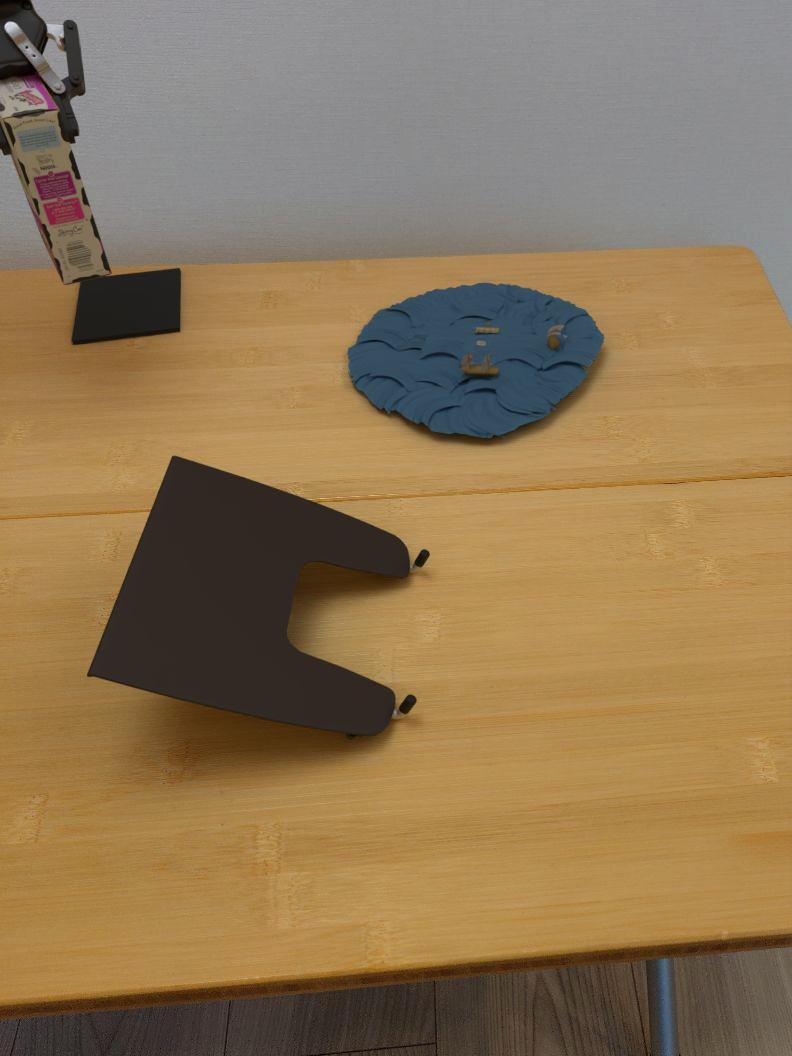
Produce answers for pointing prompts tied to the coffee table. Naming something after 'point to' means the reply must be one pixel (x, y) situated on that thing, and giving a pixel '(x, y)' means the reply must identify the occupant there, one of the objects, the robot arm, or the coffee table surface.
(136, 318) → the mat
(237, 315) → the coffee table surface
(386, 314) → the blue wavy sea disc
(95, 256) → the candy bar box
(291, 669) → the laptop tray
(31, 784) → the coffee table surface
